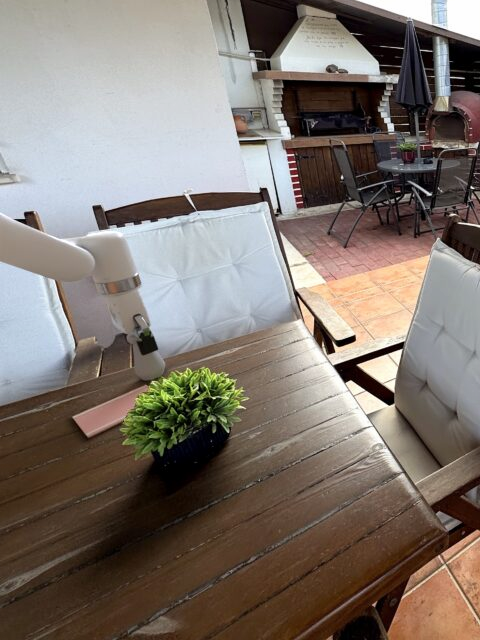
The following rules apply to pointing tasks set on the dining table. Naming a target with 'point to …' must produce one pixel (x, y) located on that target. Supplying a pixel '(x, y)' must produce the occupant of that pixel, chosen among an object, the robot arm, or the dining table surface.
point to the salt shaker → (146, 361)
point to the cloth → (107, 413)
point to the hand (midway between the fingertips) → (142, 346)
